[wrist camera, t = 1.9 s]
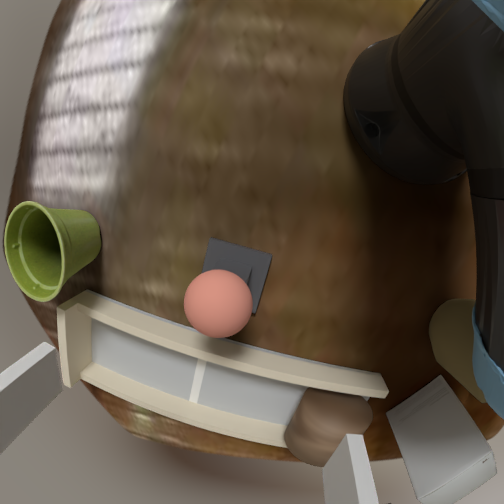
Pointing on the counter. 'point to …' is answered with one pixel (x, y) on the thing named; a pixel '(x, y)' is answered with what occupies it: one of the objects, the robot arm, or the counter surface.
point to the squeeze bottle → (455, 342)
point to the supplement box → (441, 445)
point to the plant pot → (48, 247)
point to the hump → (325, 424)
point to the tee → (239, 264)
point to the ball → (218, 303)
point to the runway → (193, 370)
